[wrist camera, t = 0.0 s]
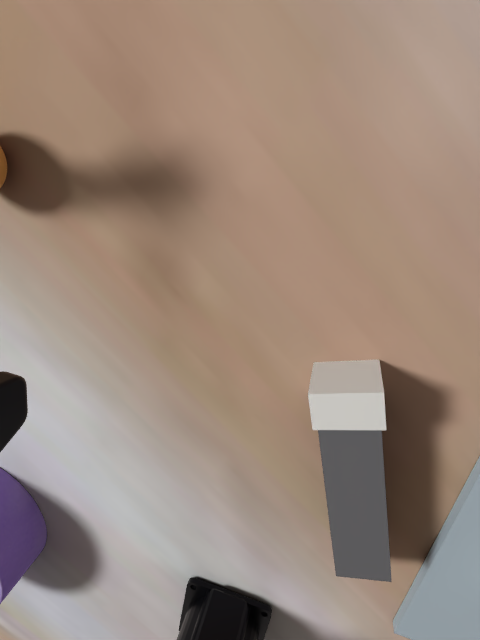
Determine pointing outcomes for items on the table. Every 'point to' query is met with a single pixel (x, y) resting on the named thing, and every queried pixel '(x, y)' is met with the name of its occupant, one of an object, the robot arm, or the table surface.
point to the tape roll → (18, 532)
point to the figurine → (2, 167)
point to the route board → (448, 577)
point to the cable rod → (353, 463)
